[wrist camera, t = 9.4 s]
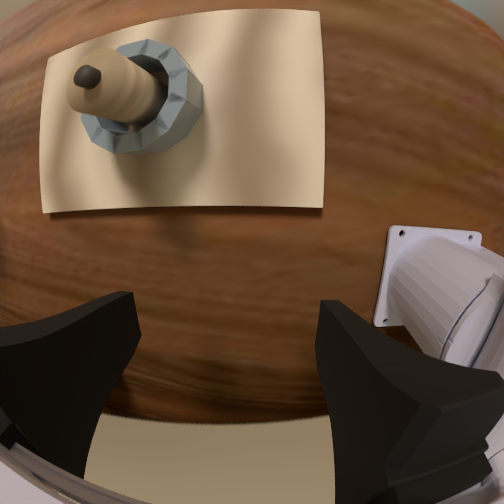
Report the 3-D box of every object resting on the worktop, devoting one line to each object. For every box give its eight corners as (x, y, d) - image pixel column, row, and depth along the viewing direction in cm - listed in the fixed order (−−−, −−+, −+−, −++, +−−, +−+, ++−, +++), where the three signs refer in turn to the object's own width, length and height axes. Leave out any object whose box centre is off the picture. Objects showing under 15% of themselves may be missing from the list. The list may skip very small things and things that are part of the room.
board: (317, 16, 14) (319, 11, 13) (320, 205, 18) (322, 207, 17) (53, 60, 15) (48, 58, 14) (48, 211, 19) (42, 213, 18)
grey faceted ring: (204, 52, 14) (190, 30, 11) (201, 149, 16) (186, 146, 13) (113, 69, 15) (86, 56, 11) (108, 158, 17) (79, 159, 14)
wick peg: (175, 80, 15) (117, 32, 7) (175, 125, 16) (111, 100, 8) (132, 88, 15) (59, 56, 8) (131, 131, 16) (53, 119, 9)
